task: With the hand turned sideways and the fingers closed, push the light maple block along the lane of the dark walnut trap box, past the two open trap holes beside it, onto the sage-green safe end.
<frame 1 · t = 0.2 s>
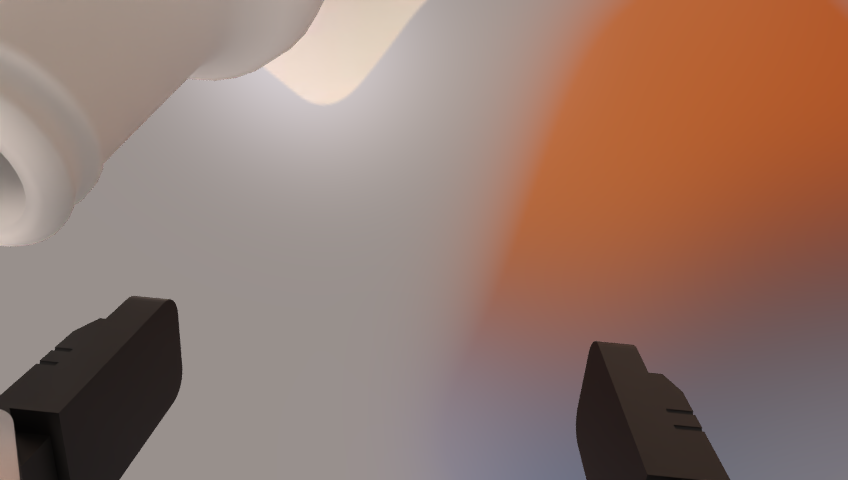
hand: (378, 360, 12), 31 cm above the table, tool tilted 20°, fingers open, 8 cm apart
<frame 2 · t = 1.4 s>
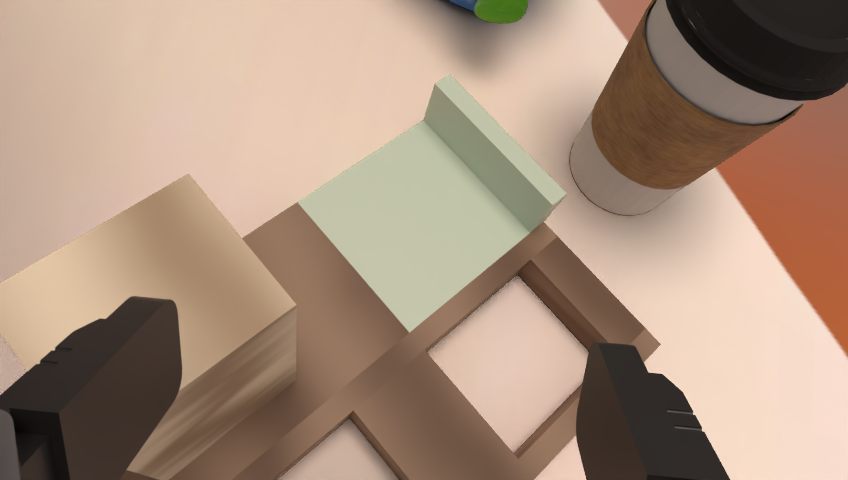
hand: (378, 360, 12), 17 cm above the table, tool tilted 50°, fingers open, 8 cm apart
coffee cup: (616, 171, 36), on the table
trap box: (369, 371, 29), on the table
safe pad: (417, 229, 32), on the table
maple block: (197, 379, 25), point 2 cm above the table, touching trap box
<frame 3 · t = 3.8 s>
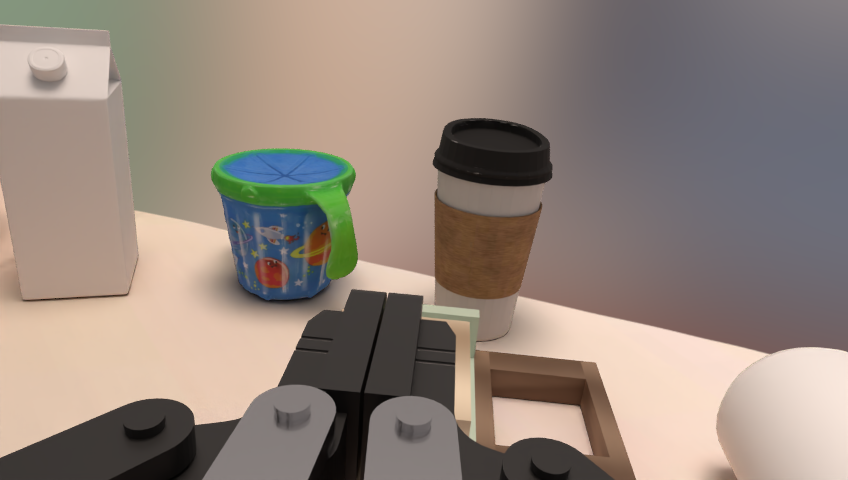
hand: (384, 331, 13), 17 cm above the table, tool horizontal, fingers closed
coffee cup: (471, 323, 49), on the table
milk carton: (85, 280, 50), on the table
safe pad: (405, 411, 38), on the table
snack cup: (285, 285, 52), on the table
alcohol: (794, 406, 34), point 4 cm above the table
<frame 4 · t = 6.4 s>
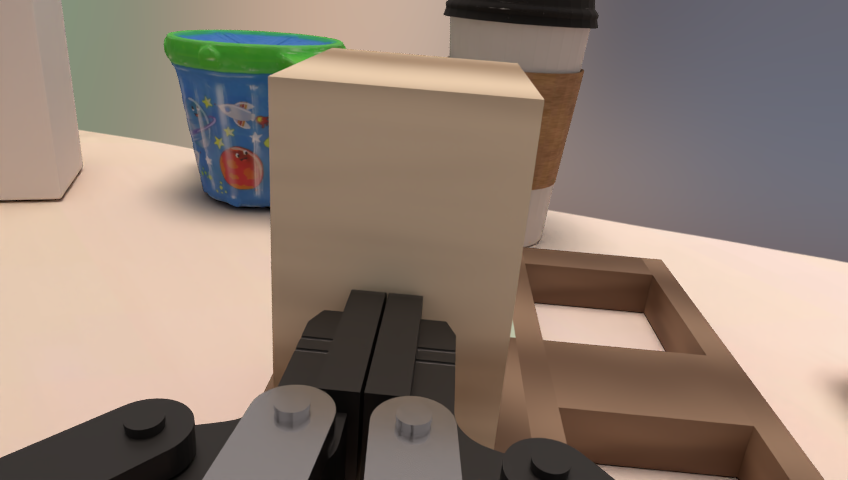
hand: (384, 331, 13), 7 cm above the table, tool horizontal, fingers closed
coffee cup: (493, 233, 39), on the table
trap box: (512, 416, 22), on the table
milk carton: (12, 188, 40), on the table
snack cup: (261, 196, 42), on the table
maple block: (392, 430, 18), point 2 cm above the table, touching gripper, trap box
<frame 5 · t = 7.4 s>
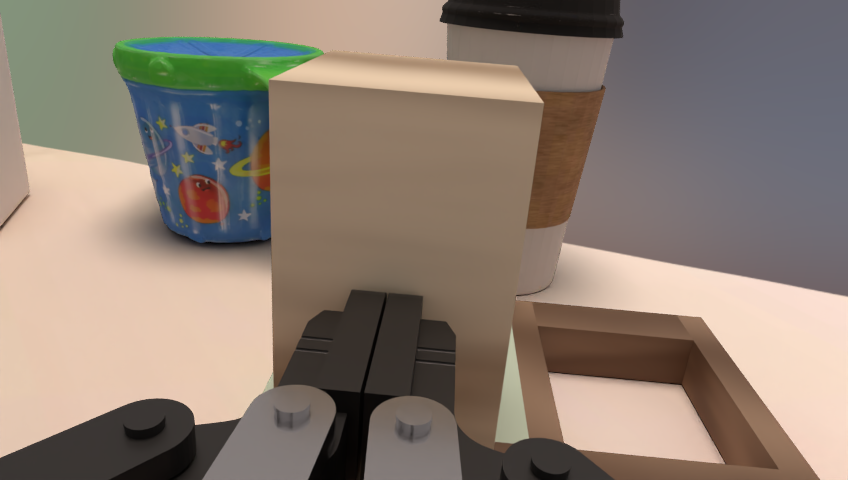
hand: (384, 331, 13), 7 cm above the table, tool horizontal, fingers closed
coffee cup: (497, 273, 34), on the table
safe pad: (399, 395, 23), on the table
snack cup: (232, 227, 37), on the table
maple block: (391, 432, 18), point 2 cm above the table
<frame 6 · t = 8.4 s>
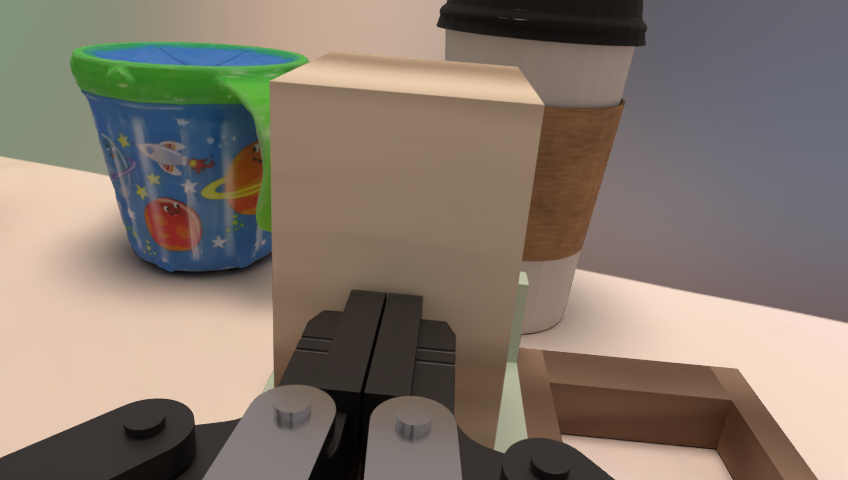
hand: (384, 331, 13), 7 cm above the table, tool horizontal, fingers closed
coffee cup: (500, 306, 30), on the table
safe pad: (387, 468, 19), on the table
snack cup: (208, 252, 34), on the table
maple block: (392, 432, 18), point 2 cm above the table, touching gripper, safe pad
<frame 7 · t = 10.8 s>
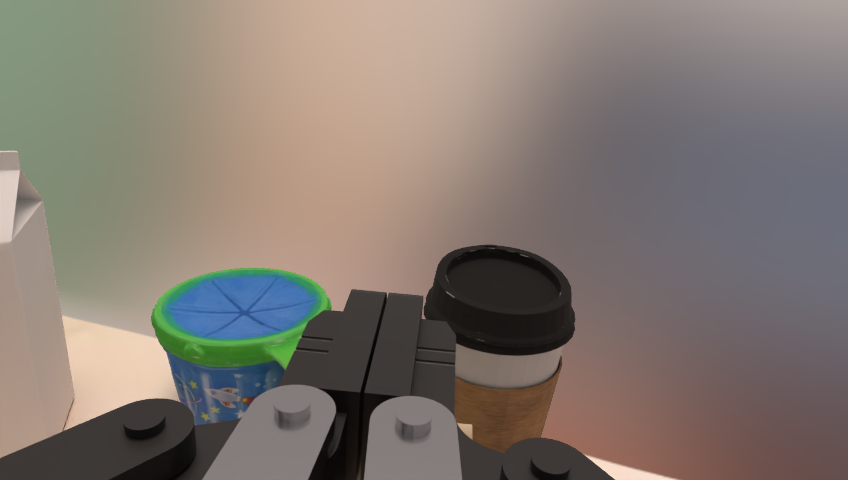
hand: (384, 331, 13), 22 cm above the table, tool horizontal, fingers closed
milk carton: (4, 439, 41), on the table
snack cup: (249, 435, 43), on the table
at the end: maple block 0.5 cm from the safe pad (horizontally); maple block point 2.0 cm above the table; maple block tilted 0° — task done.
